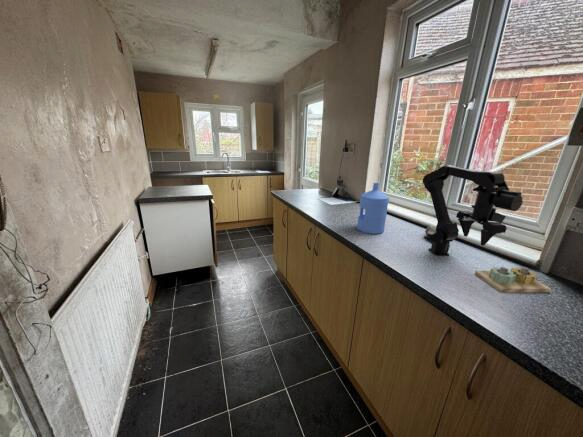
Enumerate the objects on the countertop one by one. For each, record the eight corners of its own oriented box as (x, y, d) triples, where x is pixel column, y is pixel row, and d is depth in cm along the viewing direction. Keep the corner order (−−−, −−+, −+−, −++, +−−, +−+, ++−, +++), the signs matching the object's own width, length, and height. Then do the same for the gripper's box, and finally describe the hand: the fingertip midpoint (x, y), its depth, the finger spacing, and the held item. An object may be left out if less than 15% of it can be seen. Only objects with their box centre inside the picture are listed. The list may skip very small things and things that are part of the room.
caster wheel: (441, 249, 122) (421, 242, 127) (444, 238, 130) (424, 232, 134) (446, 239, 118) (425, 232, 123) (448, 228, 126) (428, 222, 131)
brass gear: (528, 286, 84) (531, 279, 83) (504, 276, 90) (507, 269, 90) (538, 282, 87) (541, 275, 86) (514, 272, 93) (517, 265, 92)
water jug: (386, 228, 143) (393, 182, 134) (380, 236, 130) (388, 187, 121) (361, 223, 151) (366, 180, 142) (353, 230, 138) (358, 183, 129)
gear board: (500, 292, 83) (505, 277, 81) (474, 273, 95) (478, 260, 93) (549, 292, 84) (555, 277, 82) (517, 274, 95) (522, 260, 93)
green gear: (499, 284, 85) (502, 277, 84) (484, 273, 92) (486, 267, 91) (518, 284, 85) (521, 277, 84) (501, 273, 92) (504, 267, 91)
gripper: (527, 211, 83) (513, 250, 88) (485, 198, 101) (475, 232, 106) (496, 210, 83) (484, 250, 88) (459, 198, 100) (451, 232, 105)
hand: (473, 240), depth 97 cm, fingers open, 9 cm apart
